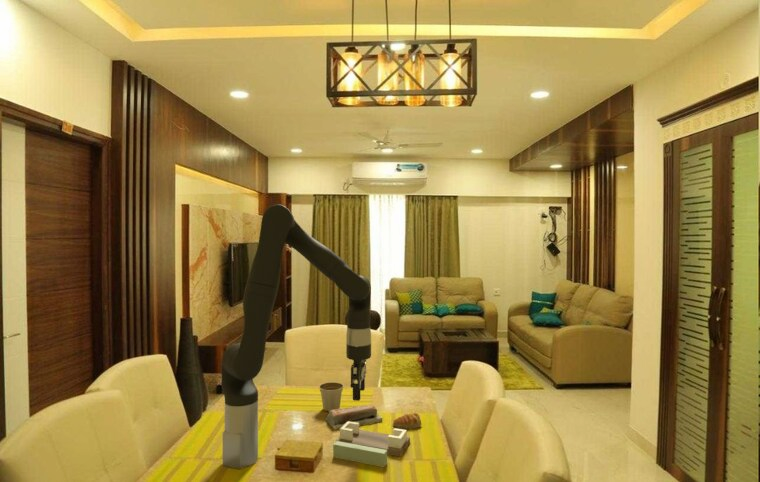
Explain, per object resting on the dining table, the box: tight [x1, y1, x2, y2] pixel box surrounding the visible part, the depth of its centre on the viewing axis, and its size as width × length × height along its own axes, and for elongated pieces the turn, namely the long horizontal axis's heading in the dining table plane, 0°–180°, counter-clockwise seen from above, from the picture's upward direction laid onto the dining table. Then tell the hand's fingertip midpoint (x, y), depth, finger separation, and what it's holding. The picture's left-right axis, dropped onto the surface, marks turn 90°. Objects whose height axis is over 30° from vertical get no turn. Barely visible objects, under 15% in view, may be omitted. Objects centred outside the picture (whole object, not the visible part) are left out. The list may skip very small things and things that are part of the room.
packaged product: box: [325, 404, 384, 431], centre depth 161 cm, size 18×5×10 cm
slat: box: [332, 440, 388, 468], centre depth 133 cm, size 2×16×4 cm, turn 69°
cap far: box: [339, 421, 360, 440], centre depth 146 cm, size 6×4×3 cm, turn 160°
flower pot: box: [318, 381, 345, 413], centre depth 172 cm, size 9×9×9 cm
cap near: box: [388, 427, 408, 449], centre depth 140 cm, size 6×4×3 cm, turn 160°
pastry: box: [392, 412, 422, 430], centre depth 158 cm, size 9×7×4 cm
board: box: [335, 429, 411, 457], centre depth 143 cm, size 10×21×2 cm, turn 70°
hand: (358, 395), depth 139 cm, fingers open, 8 cm apart
